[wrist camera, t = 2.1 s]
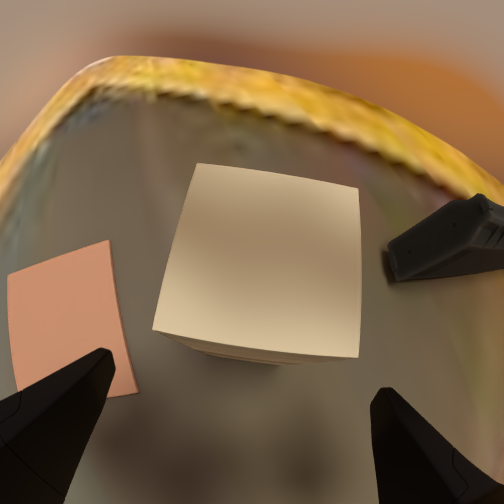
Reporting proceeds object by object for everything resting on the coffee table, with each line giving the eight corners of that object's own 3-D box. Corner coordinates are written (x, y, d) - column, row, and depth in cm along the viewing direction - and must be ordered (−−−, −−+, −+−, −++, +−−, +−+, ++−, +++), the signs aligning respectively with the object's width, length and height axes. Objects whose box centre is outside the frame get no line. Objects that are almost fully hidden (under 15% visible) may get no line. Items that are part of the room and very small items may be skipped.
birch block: (279, 365, 18) (358, 357, 6) (206, 354, 18) (152, 329, 6) (287, 296, 20) (357, 188, 8) (218, 285, 20) (197, 163, 8)
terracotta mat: (139, 392, 17) (137, 392, 16) (23, 405, 15) (21, 405, 14) (110, 241, 21) (108, 239, 21) (10, 276, 19) (7, 275, 19)
